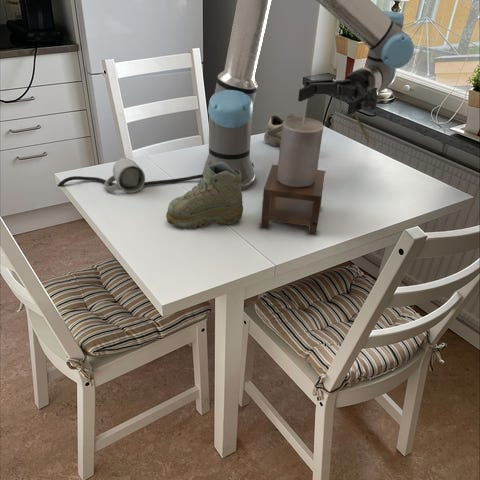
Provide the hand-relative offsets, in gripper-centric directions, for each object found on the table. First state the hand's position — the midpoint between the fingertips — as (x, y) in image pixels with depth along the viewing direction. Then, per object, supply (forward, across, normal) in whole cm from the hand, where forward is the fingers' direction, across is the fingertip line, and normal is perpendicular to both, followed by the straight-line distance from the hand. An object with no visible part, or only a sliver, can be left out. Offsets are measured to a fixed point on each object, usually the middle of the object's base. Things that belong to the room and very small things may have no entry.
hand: (324, 101), depth 122 cm
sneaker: (+26, +16, -28) cm, 41 cm away
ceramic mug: (+26, +45, -28) cm, 58 cm away
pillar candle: (+10, 0, -17) cm, 19 cm away
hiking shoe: (-31, +25, -27) cm, 48 cm away
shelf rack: (+10, 0, -27) cm, 29 cm away
